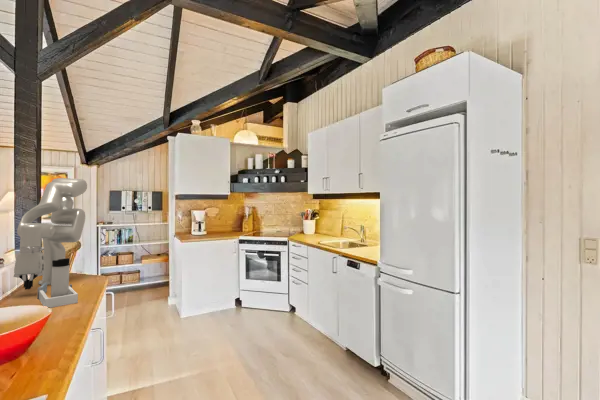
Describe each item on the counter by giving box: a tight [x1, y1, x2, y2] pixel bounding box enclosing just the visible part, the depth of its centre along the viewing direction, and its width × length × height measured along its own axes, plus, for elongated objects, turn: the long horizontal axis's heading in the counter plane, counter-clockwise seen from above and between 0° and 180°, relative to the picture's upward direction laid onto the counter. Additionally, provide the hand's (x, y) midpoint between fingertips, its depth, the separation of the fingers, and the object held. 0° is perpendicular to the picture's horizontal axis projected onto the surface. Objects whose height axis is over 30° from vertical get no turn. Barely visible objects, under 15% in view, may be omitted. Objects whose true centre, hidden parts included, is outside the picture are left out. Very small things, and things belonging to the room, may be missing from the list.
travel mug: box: [50, 257, 70, 298], centre depth 137 cm, size 6×7×20 cm
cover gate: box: [36, 283, 48, 300], centre depth 145 cm, size 1×11×5 cm, turn 28°
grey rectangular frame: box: [38, 283, 79, 309], centre depth 139 cm, size 18×12×4 cm
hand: (28, 288), depth 143 cm, fingers closed
